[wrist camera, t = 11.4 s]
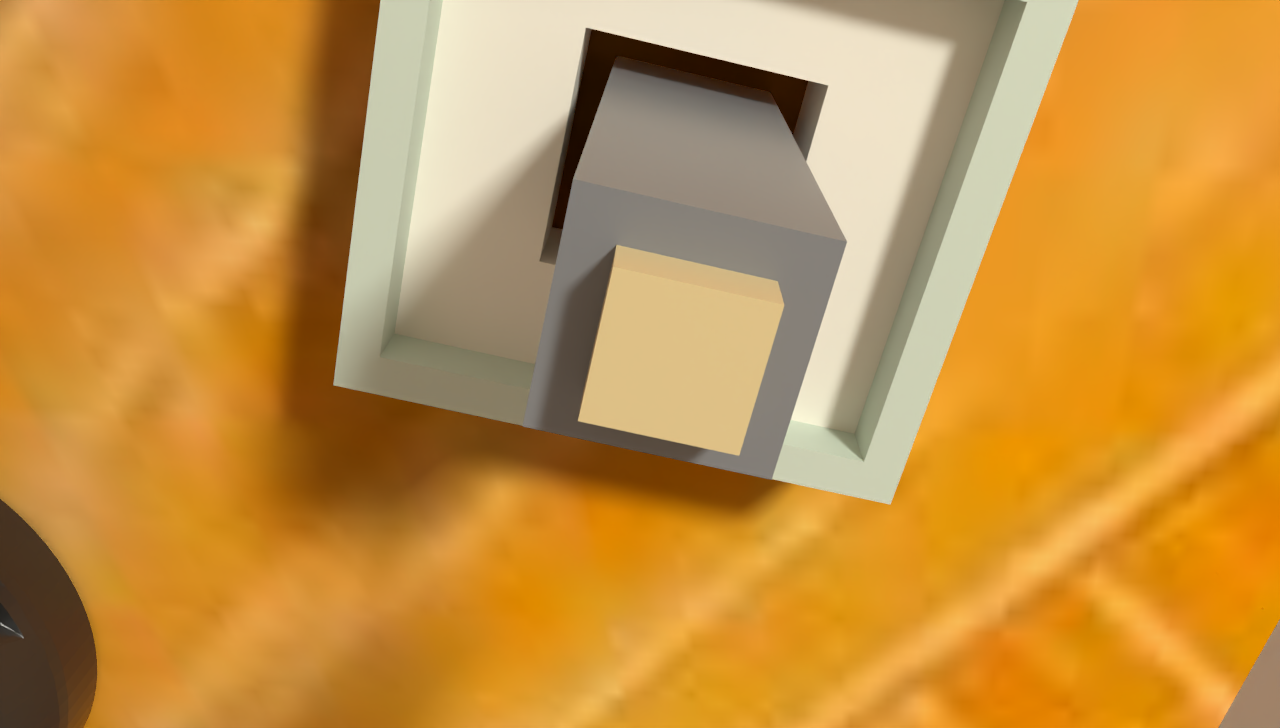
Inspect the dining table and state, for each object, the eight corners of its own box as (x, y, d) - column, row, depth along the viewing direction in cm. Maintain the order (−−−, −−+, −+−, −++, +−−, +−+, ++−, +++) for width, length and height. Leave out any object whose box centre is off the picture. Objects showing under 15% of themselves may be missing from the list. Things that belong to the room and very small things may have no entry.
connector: (584, 206, 29) (513, 456, 16) (616, 55, 27) (566, 197, 14) (730, 239, 29) (777, 513, 16) (770, 92, 27) (858, 263, 14)
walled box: (379, 318, 30) (333, 385, 26) (450, -192, 25) (406, -210, 21) (861, 423, 31) (890, 504, 27) (1024, -48, 26) (1092, -38, 22)
